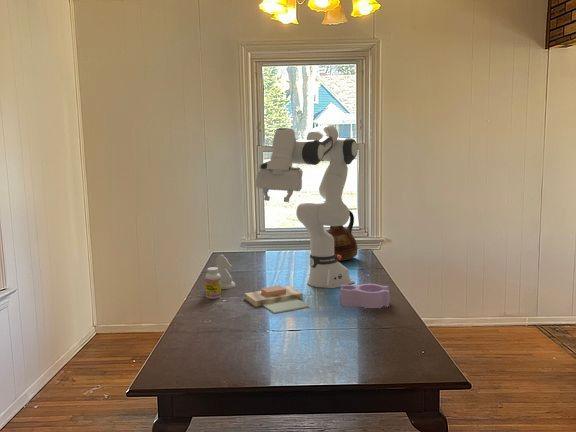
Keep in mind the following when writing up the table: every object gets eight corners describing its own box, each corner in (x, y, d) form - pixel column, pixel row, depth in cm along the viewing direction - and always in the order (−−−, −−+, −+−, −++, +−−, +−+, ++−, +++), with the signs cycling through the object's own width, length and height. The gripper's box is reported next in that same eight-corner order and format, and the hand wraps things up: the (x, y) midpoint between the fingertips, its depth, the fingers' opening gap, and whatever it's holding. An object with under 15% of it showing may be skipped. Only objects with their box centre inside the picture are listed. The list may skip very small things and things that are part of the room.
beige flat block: (289, 291, 229) (289, 285, 229) (302, 298, 218) (302, 293, 218) (244, 298, 219) (244, 293, 219) (255, 306, 209) (255, 301, 208)
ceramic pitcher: (316, 257, 292) (316, 205, 287) (348, 254, 298) (349, 203, 293) (329, 265, 274) (329, 210, 269) (363, 262, 280) (364, 208, 275)
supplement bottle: (203, 298, 220) (202, 270, 218) (209, 294, 226) (208, 266, 224) (218, 299, 218) (217, 270, 216) (223, 295, 224) (222, 266, 222)
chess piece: (230, 289, 232) (229, 258, 229) (210, 288, 235) (209, 256, 233) (238, 283, 241) (237, 253, 239) (219, 282, 244) (218, 251, 242)
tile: (279, 289, 223) (279, 285, 223) (286, 293, 218) (286, 289, 217) (261, 292, 219) (261, 288, 219) (267, 296, 214) (267, 292, 213)
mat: (296, 299, 217) (296, 298, 217) (309, 307, 207) (309, 305, 207) (262, 305, 210) (262, 304, 210) (274, 313, 200) (274, 312, 200)
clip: (339, 308, 206) (339, 291, 205) (340, 298, 219) (340, 283, 217) (389, 310, 204) (389, 293, 203) (387, 300, 216) (388, 284, 215)
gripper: (307, 169, 200) (302, 203, 199) (264, 167, 210) (260, 200, 210) (298, 166, 194) (294, 201, 193) (255, 164, 205) (251, 198, 204)
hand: (276, 201), depth 202 cm, fingers open, 8 cm apart
